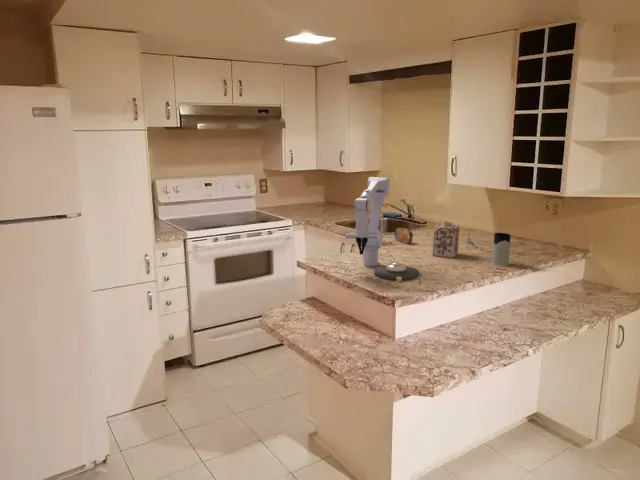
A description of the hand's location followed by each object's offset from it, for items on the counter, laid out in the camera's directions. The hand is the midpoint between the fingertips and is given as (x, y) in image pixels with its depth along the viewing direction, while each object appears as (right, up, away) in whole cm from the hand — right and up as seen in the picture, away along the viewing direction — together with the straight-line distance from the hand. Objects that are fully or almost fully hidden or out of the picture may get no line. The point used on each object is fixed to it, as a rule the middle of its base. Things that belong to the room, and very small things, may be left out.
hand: (361, 254), depth 225 cm
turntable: (+16, -9, -2) cm, 18 cm away
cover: (+15, -7, -2) cm, 17 cm away
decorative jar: (+48, -2, +40) cm, 63 cm away
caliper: (+71, +3, +63) cm, 94 cm away
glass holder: (+71, -5, +25) cm, 76 cm away
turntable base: (+16, -10, -2) cm, 19 cm away
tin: (+31, +5, +71) cm, 78 cm away
